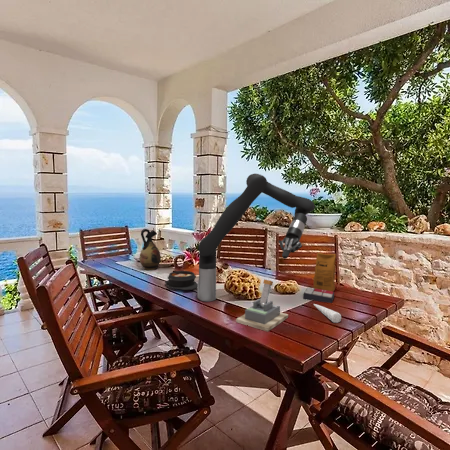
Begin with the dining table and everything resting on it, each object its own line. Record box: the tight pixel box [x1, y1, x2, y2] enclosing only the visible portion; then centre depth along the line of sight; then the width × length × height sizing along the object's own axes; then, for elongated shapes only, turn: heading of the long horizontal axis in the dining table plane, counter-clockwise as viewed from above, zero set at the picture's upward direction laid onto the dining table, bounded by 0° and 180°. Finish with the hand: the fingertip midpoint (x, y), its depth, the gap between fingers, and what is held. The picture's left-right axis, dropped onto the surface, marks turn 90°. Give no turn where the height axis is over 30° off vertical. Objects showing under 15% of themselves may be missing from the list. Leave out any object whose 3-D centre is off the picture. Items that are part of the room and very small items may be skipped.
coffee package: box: [312, 252, 337, 292], centre depth 191 cm, size 10×12×22 cm
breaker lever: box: [258, 278, 274, 307], centre depth 147 cm, size 3×4×12 cm
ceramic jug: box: [139, 228, 162, 271], centre depth 239 cm, size 17×15×30 cm
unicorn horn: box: [313, 303, 342, 324], centre depth 156 cm, size 5×24×5 cm, turn 6°
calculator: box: [302, 287, 335, 304], centre depth 177 cm, size 11×4×15 cm
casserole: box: [164, 270, 198, 291], centre depth 195 cm, size 25×19×8 cm
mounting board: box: [235, 311, 289, 333], centre depth 147 cm, size 19×16×2 cm
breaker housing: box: [244, 298, 281, 324], centre depth 146 cm, size 14×10×7 cm
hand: (284, 257), depth 161 cm, fingers closed
